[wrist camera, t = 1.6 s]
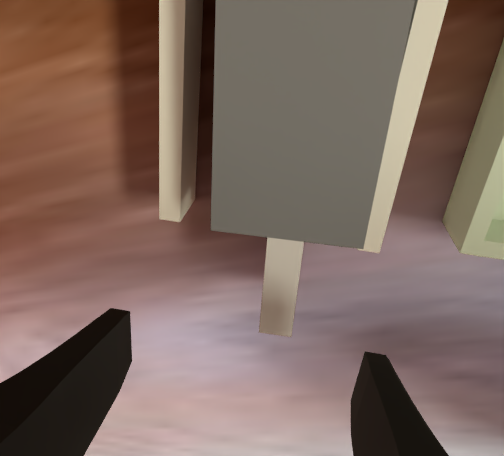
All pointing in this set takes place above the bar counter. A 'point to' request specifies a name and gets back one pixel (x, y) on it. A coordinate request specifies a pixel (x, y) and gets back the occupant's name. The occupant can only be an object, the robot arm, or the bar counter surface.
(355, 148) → the block on a stick
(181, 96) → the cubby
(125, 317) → the robot arm
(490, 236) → the tray
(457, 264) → the bar counter surface
